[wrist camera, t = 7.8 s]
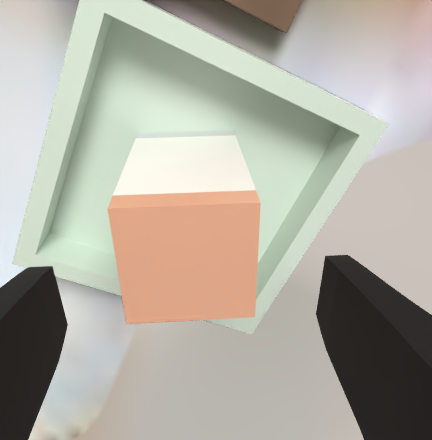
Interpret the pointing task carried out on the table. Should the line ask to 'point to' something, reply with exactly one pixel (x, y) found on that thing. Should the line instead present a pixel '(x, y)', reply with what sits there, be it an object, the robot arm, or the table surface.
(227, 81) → the tray
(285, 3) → the clip board
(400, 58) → the table surface
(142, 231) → the white and orange block
